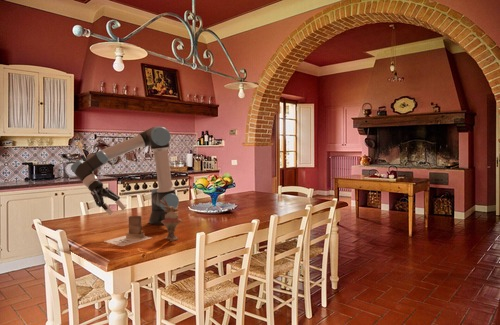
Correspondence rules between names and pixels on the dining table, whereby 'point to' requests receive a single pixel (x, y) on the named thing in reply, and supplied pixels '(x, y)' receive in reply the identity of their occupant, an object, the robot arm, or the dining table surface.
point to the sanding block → (135, 228)
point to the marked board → (125, 240)
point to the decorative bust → (170, 220)
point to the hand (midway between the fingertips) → (118, 211)
